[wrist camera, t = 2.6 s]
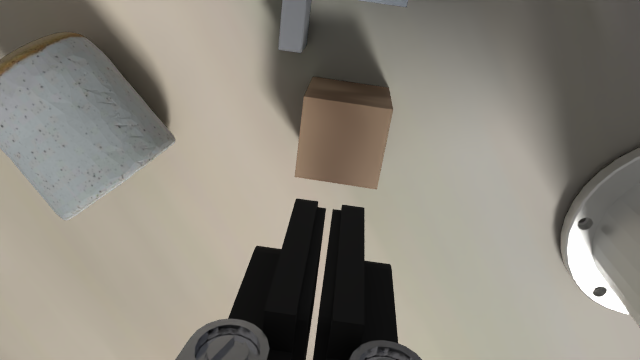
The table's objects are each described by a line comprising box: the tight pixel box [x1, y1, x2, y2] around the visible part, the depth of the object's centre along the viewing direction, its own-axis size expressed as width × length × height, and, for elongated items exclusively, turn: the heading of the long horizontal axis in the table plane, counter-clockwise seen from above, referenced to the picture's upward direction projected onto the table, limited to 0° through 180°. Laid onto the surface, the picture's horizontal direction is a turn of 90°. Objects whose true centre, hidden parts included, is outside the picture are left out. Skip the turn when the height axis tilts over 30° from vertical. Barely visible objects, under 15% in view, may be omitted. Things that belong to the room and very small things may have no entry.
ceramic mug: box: [0, 32, 175, 220], centre depth 26 cm, size 11×8×8 cm
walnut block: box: [295, 77, 393, 189], centre depth 26 cm, size 4×4×4 cm
